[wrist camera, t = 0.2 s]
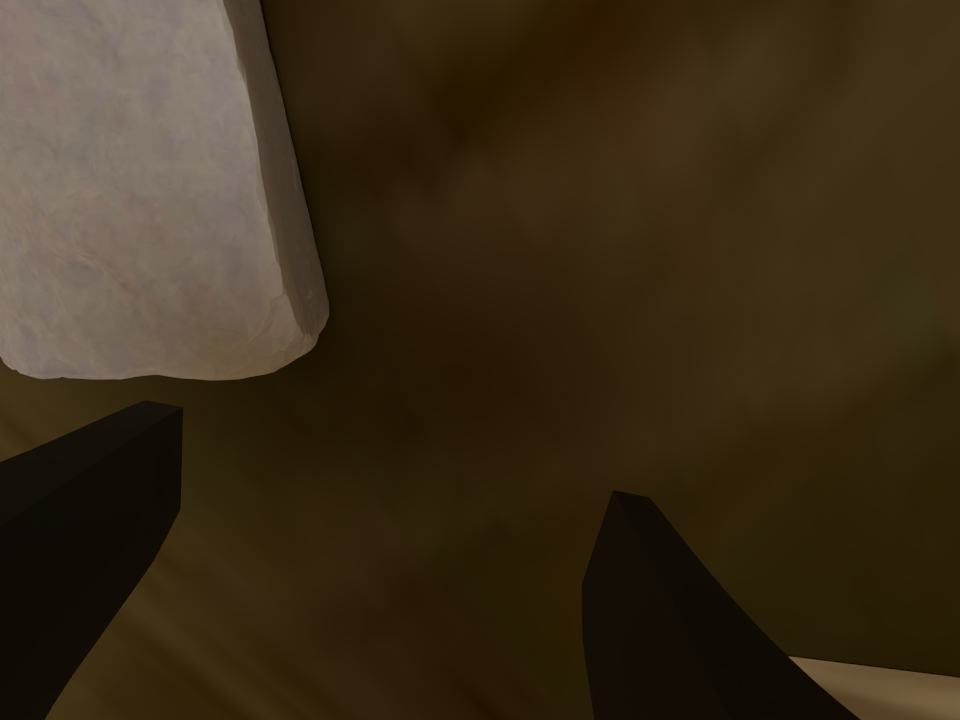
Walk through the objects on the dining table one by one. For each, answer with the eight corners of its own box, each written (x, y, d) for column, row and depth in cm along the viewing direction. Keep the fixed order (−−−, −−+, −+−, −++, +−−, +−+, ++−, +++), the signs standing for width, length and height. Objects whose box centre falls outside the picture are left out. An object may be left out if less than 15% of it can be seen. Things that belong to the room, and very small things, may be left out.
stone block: (98, 343, 25) (367, 331, 22) (-25, 408, 20) (290, 403, 17) (-47, -53, 20) (268, -133, 17) (-243, -76, 16) (132, -188, 13)
